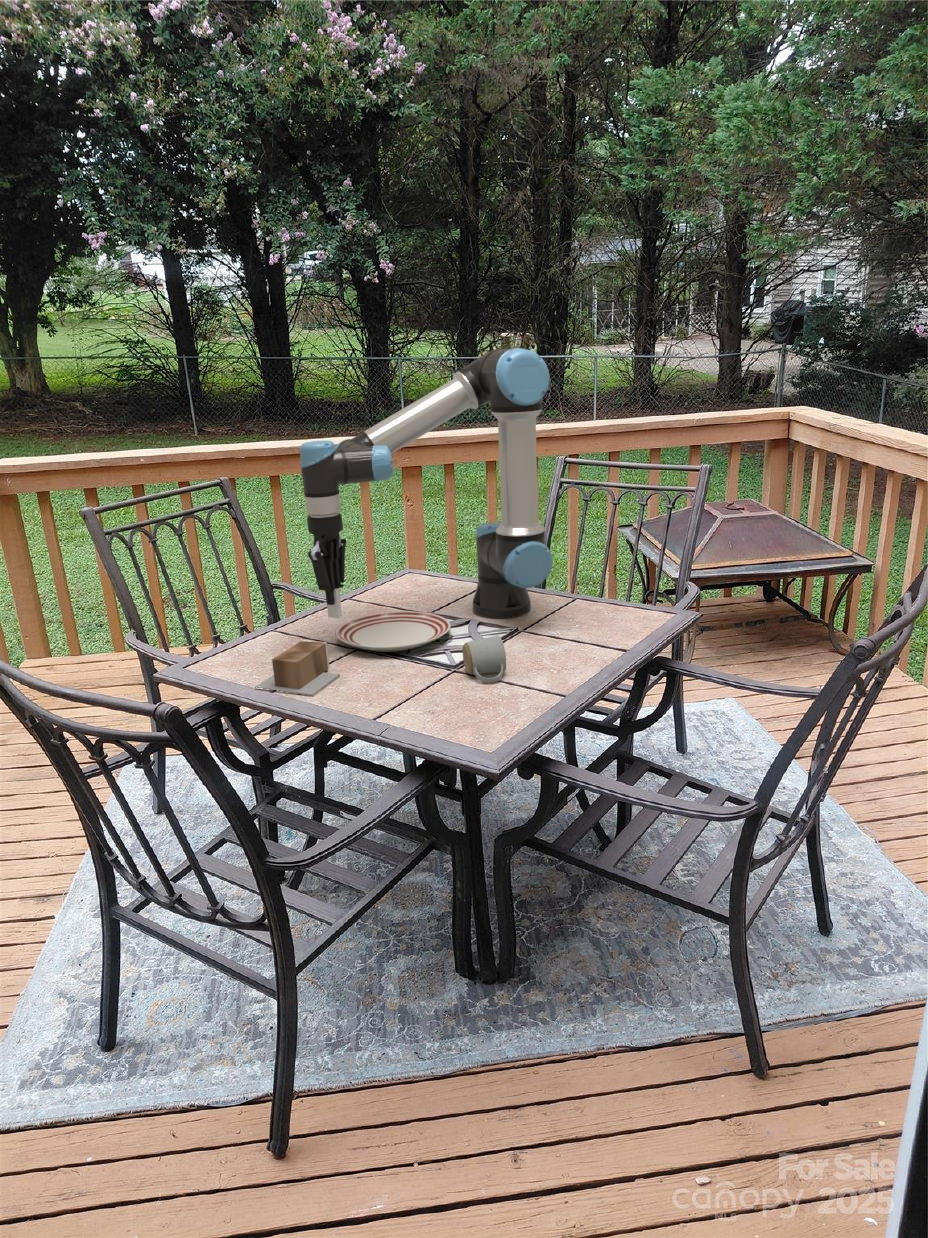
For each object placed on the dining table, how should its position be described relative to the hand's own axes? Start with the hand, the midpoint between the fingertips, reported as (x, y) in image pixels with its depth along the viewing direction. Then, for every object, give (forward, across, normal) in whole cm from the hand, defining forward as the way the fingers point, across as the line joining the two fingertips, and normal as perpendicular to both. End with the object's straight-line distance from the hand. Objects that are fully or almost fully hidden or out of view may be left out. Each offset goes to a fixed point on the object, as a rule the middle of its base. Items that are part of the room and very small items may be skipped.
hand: (335, 616), depth 189 cm
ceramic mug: (+10, +2, +37) cm, 38 cm away
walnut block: (+6, +9, 0) cm, 11 cm away
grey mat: (+9, +17, 0) cm, 19 cm away
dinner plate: (+10, -13, +8) cm, 18 cm away
